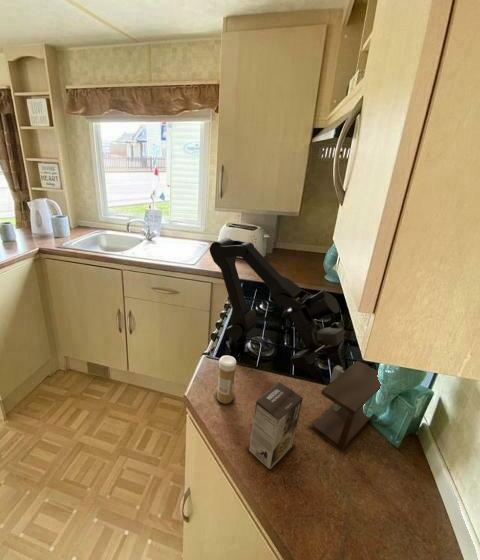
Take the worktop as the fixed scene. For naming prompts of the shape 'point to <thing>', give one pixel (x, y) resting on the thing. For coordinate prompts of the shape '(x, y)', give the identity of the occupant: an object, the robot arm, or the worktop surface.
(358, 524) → the worktop surface
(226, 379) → the sprinkles bottle
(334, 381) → the dark brown angular piece
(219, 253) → the robot arm
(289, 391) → the coffee box
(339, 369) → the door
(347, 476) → the worktop surface
